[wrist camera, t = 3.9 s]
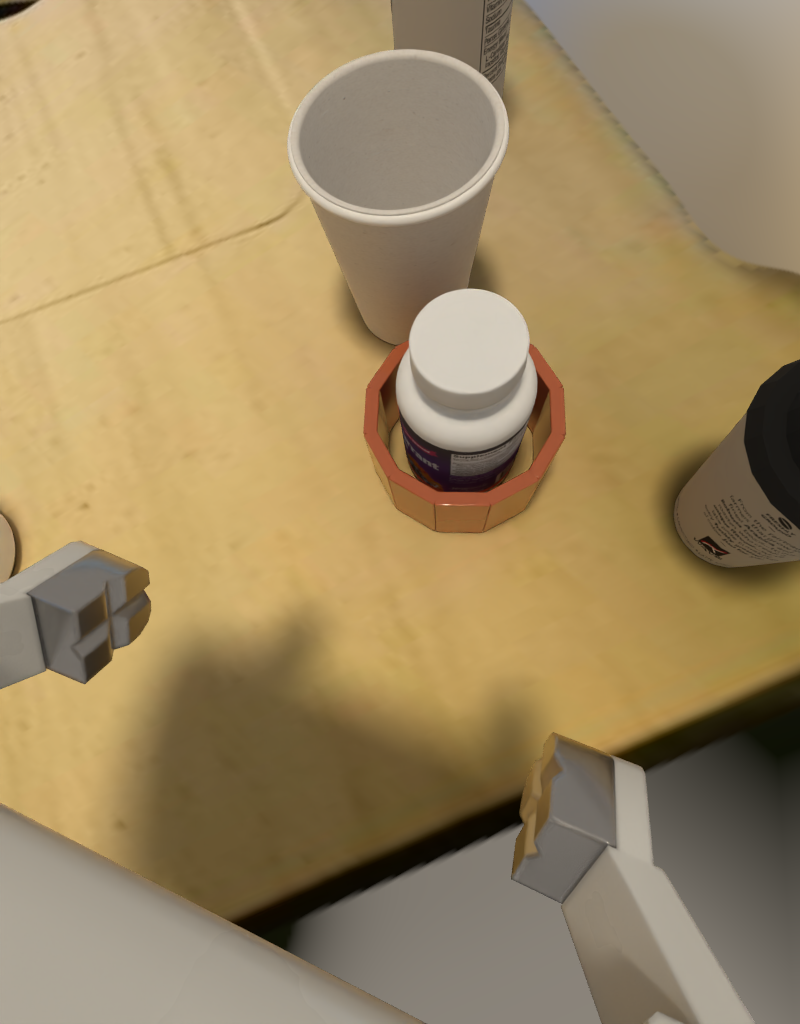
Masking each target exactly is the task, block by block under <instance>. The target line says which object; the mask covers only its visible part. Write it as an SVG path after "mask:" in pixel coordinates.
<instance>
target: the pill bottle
mask: <svg viewBox="0 0 800 1024" xmlns="http://www.w3.org/2000/svg"><path fill="white" fill-rule="evenodd" d="M529 345H530V341H529V332H528V328H527V324H526V322H525V320H524V318H523V316H522V314H521V313H520V312H519V310H518V309H517V308H516V307H515V306H514V305H513V304H512V303H511V302H509V301H508V300H507V299H505V298H503V297H502V296H500V295H498V294H496V293H493V292H490V291H486V290H482V289H459V290H455V291H451V292H448V293H445V294H442V295H440V296H439V297H437V298H435V299H433V300H432V301H431V302H429V303H428V304H427V305H426V306H425V307H424V308H423V309H422V310H421V311H420V313H419V314H418V315H417V317H416V319H415V321H414V323H413V325H412V328H411V331H410V336H409V348H408V349H407V351H406V353H405V354H404V356H403V358H402V360H401V363H400V365H399V368H398V372H397V377H396V400H397V404H398V411H399V416H400V422H401V427H402V433H403V439H404V444H405V450H406V455H407V459H408V462H409V465H410V467H411V469H412V471H413V473H414V474H415V476H416V477H417V479H418V480H419V481H421V482H422V483H424V484H426V485H428V486H429V487H431V488H433V489H435V490H436V491H438V492H488V491H490V490H492V489H494V488H495V487H496V486H498V485H499V484H500V483H501V482H502V481H503V480H504V478H505V477H506V476H507V474H508V473H509V471H510V469H511V467H512V465H513V462H514V460H515V457H516V454H517V452H518V449H519V446H520V444H521V441H522V438H523V435H524V433H525V430H526V427H527V424H528V421H529V418H530V416H531V413H532V410H533V407H534V404H535V399H536V395H537V373H536V369H535V365H534V362H533V360H532V358H531V356H530V354H529Z"/></svg>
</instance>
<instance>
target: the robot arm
mask: <svg viewBox="0 0 800 1024" xmlns="http://www.w3.org/2000/svg"><path fill="white" fill-rule="evenodd" d="M149 584H150V581H149V572H148V570H146V569H144V568H143V567H141V566H138V565H136V564H134V563H132V562H129V561H127V560H125V559H122V558H120V557H118V556H116V555H113V554H111V553H109V552H106V551H104V550H102V549H99V548H96V547H94V546H92V545H89V544H87V543H85V542H82V541H77V542H71V543H69V544H67V545H66V546H64V547H62V548H61V549H59V550H57V551H55V552H54V553H52V554H50V555H49V556H47V557H45V558H44V559H42V560H40V561H39V562H37V563H35V564H34V565H32V566H30V567H28V568H27V569H25V570H23V571H22V572H20V573H18V574H17V575H15V576H13V577H12V578H10V579H8V580H7V581H5V582H3V583H0V689H2V688H4V687H7V686H9V685H12V684H14V683H17V682H19V681H22V680H24V679H27V678H29V677H32V676H34V675H37V674H39V673H42V672H44V671H46V668H47V669H49V670H52V671H54V672H56V673H59V674H61V675H64V676H66V677H68V678H71V679H73V680H76V681H78V682H80V683H83V684H86V683H87V682H88V681H89V680H90V679H91V678H92V677H94V676H95V675H96V674H97V673H98V672H99V671H100V670H101V669H103V668H104V667H105V666H106V665H107V664H108V663H109V662H110V661H112V657H113V651H114V649H117V648H120V647H124V646H127V645H129V644H131V643H132V642H133V641H134V640H135V639H136V638H137V637H138V636H139V635H140V634H141V632H142V631H143V629H144V628H145V626H146V624H147V623H148V621H149V617H150V613H151V601H150V599H149V598H148V596H147V594H146V593H145V591H144V589H145V588H146V587H147V586H148V585H149ZM519 814H520V817H521V819H522V821H523V823H524V826H523V828H522V830H521V831H520V833H519V835H518V837H517V838H516V844H515V851H514V860H513V868H512V876H511V879H512V880H514V881H516V882H518V883H520V884H523V885H524V886H527V887H529V888H530V889H533V890H535V891H537V892H539V893H541V894H543V895H545V896H547V897H549V898H551V899H553V900H555V901H557V902H559V903H561V904H562V905H561V909H562V911H563V914H564V917H565V920H566V923H567V926H568V929H569V931H570V934H571V937H572V940H573V943H574V946H575V949H576V951H577V954H578V957H579V960H580V963H581V965H582V968H583V971H584V974H585V977H586V980H587V983H588V986H589V988H590V991H591V994H592V997H593V1000H594V1003H595V1005H596V1008H597V1011H598V1014H599V1017H600V1020H601V1022H602V1024H755V1022H754V1021H753V1019H752V1017H751V1016H750V1014H749V1012H748V1010H747V1009H746V1007H745V1005H744V1004H743V1002H742V1000H741V999H740V997H739V995H738V994H737V992H736V990H735V989H734V987H733V985H732V984H731V982H730V980H729V979H728V977H727V975H726V974H725V972H724V970H723V969H722V967H721V965H720V964H719V962H718V960H717V959H716V957H715V955H714V954H713V952H712V950H711V949H710V947H709V945H708V943H707V942H706V940H705V939H704V937H703V935H702V933H701V932H700V930H699V928H698V927H697V925H696V924H695V922H694V920H693V918H692V917H691V915H690V913H689V912H688V910H687V908H686V907H685V905H684V903H683V902H682V900H681V898H680V897H679V895H678V893H677V892H676V890H675V888H674V887H673V885H672V883H671V882H670V880H669V878H668V876H667V875H666V873H665V871H664V870H663V869H661V868H659V867H657V866H654V862H653V852H652V842H651V831H650V820H649V810H648V798H647V788H646V777H645V772H644V771H643V769H642V767H640V766H638V765H635V764H632V763H630V762H627V761H625V760H622V759H620V758H617V757H615V756H612V755H611V756H610V755H609V754H608V753H605V752H603V751H600V750H598V749H595V748H593V747H590V746H587V745H585V744H582V743H580V742H577V741H575V740H572V739H569V738H567V737H564V736H562V735H559V734H557V733H554V732H553V733H552V734H551V735H549V737H548V739H547V740H546V742H545V744H544V748H543V757H542V759H539V760H536V761H535V762H534V764H533V766H532V768H531V770H530V772H529V775H528V778H527V781H526V784H525V787H524V791H523V795H522V800H521V807H520V813H519ZM0 1024H426V1023H424V1022H422V1021H420V1020H419V1019H417V1018H415V1017H413V1016H410V1015H409V1014H407V1013H405V1012H403V1011H401V1010H399V1009H397V1008H395V1007H393V1006H391V1005H390V1004H388V1003H386V1002H384V1001H382V1000H380V999H378V998H376V997H374V996H372V995H370V994H368V993H366V992H364V991H363V990H361V989H359V988H357V987H355V986H353V985H351V984H349V983H347V982H345V981H343V980H341V979H339V978H337V977H336V976H334V975H332V974H330V973H328V972H326V971H324V970H322V969H320V968H318V967H316V966H314V965H312V964H310V963H308V962H307V961H305V960H303V959H301V958H299V957H297V956H295V955H293V954H291V953H289V952H287V951H285V950H284V949H282V948H280V947H278V946H276V945H274V944H272V943H270V942H268V941H266V940H264V939H262V938H260V937H258V936H256V935H255V934H253V933H251V932H249V931H247V930H245V929H243V928H241V927H239V926H237V925H235V924H233V923H231V922H229V921H228V920H226V919H224V918H222V917H220V916H218V915H216V914H214V913H212V912H210V911H208V910H206V909H204V908H202V907H201V906H199V905H197V904H195V903H193V902H191V901H189V900H187V899H185V898H183V897H181V896H179V895H177V894H175V893H174V892H172V891H170V890H168V889H166V888H164V887H162V886H160V885H158V884H156V883H154V882H152V881H150V880H148V879H147V878H145V877H143V876H141V875H139V874H137V873H135V872H133V871H131V870H129V869H127V868H125V867H123V866H121V865H119V864H118V863H116V862H114V861H112V860H110V859H108V858H106V857H104V856H102V855H100V854H98V853H96V852H94V851H92V850H91V849H89V848H87V847H85V846H83V845H81V844H79V843H77V842H75V841H73V840H71V839H69V838H67V837H65V836H64V835H62V834H60V833H58V832H56V831H54V830H52V829H50V828H48V827H46V826H44V825H42V824H40V823H38V822H36V821H35V820H33V819H31V818H29V817H27V816H25V815H23V814H21V813H19V812H17V811H15V810H13V809H11V808H9V807H7V806H6V805H4V804H2V803H0Z"/></svg>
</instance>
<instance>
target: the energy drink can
mask: <svg viewBox="0 0 800 1024" xmlns="http://www.w3.org/2000/svg"><path fill="white" fill-rule="evenodd" d="M512 2H513V0H391V10H392V23H393V36H394V49H395V50H399V49H416V50H426V51H432V52H437V53H441V54H444V55H448V56H450V57H453V58H455V59H458V60H460V61H462V62H464V63H466V64H467V65H469V66H471V67H472V68H474V69H475V70H477V71H478V72H479V73H480V74H482V75H483V76H484V77H485V78H486V79H487V80H488V81H489V82H490V83H491V84H492V85H493V87H494V88H495V89H496V91H497V92H498V94H499V95H500V97H501V99H502V96H503V86H504V77H505V68H506V58H507V49H508V40H509V30H510V21H511V11H512Z"/></svg>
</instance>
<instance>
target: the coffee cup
mask: <svg viewBox="0 0 800 1024" xmlns="http://www.w3.org/2000/svg"><path fill="white" fill-rule="evenodd" d="M674 520H675V525H676V530H677V532H678V534H679V535H680V537H681V539H682V541H683V543H684V544H685V545H686V546H687V547H688V548H689V549H690V550H691V551H692V552H693V553H694V554H695V555H696V556H698V557H700V558H701V559H703V560H705V561H707V562H709V563H711V564H714V565H718V566H723V567H727V568H730V567H745V566H754V565H763V564H772V563H780V562H789V561H798V560H800V360H797V361H795V362H792V363H789V364H787V365H784V366H783V367H782V368H780V369H779V370H778V371H777V372H776V373H775V374H773V375H772V376H771V377H770V378H769V379H768V380H766V381H765V382H764V383H763V384H762V385H761V386H760V388H759V390H758V391H757V393H756V395H755V397H754V399H753V401H752V403H751V404H750V406H749V408H748V410H747V413H746V414H745V415H744V416H743V417H742V418H741V420H740V421H739V422H738V423H737V424H736V426H735V427H734V428H733V429H732V430H731V432H730V433H729V434H728V435H727V436H726V437H725V439H724V440H723V441H722V442H721V443H720V445H719V446H718V447H717V448H716V449H715V451H714V452H713V453H712V454H711V455H710V456H709V458H708V459H707V460H706V461H705V462H704V464H703V465H702V466H701V467H700V468H699V469H698V471H697V472H696V473H695V474H694V475H693V477H692V478H691V479H690V480H689V481H688V483H687V484H686V485H685V486H684V487H683V488H682V490H681V492H680V494H679V496H678V497H677V499H676V501H675V508H674Z"/></svg>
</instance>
